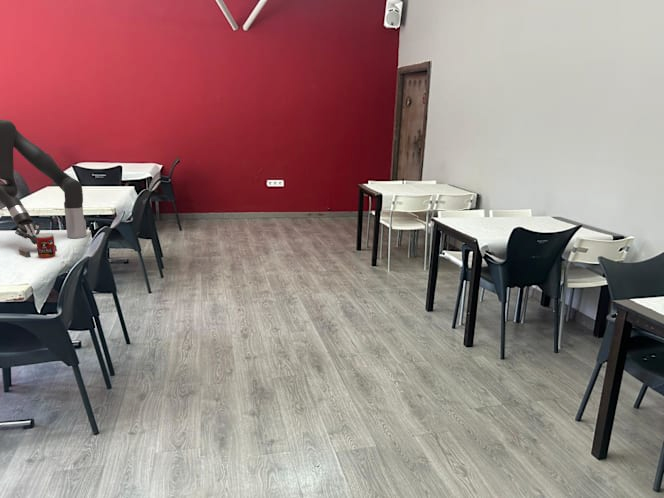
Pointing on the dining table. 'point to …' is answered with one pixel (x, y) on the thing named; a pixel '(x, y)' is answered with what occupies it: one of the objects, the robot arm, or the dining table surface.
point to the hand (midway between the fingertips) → (36, 243)
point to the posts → (27, 253)
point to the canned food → (45, 245)
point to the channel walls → (22, 252)
